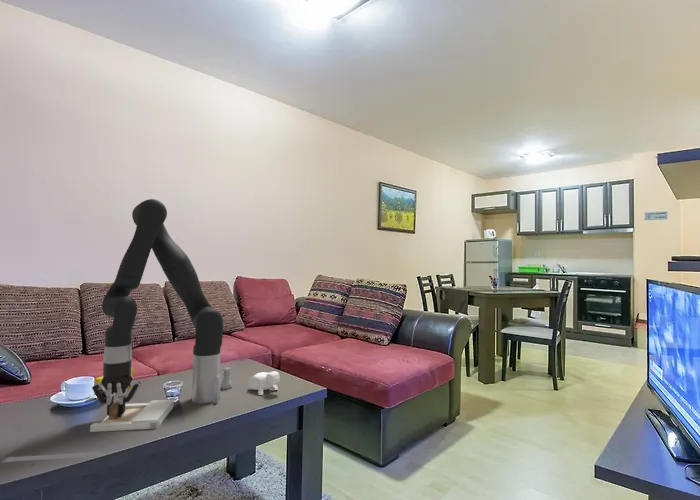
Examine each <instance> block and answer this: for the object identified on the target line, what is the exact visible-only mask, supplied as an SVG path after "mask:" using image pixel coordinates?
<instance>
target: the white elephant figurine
mask: <svg viewBox="0 0 700 500" xmlns="http://www.w3.org/2000/svg"><path fill="white" fill-rule="evenodd" d="M280 380H281V377H280V373H279V372H278V371H269V372H265V371H264V372H263V371H262V372H257V373H256V374H254V375H253V376H251V377H250V378H249V380H248V383H247V384H248V388H249V389H251V390H253V391H254V390H257V394H258V396H259V395H262V396H264V394H265V393H264V391H267V390H269V389H272V390H273V391H274V390H278V389H279V387H278V385H277V384H278V383H280V382H281V381H280ZM278 391H279V390H278Z"/></svg>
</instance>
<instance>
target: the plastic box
mask: <svg viewBox="0 0 700 500" xmlns="http://www.w3.org/2000/svg"><path fill="white" fill-rule="evenodd" d="M174 407H175V399H157V400H156V399H154V400H153V399H152V400H150V401H149V402H142V403H138V402H137V403H125V409H137V408H144V409H143V410H142V411H141V412H140V413H139V414H138V415H137V416H136V417H135V418H134V419H133V420H132V421H127V422H107V423H103V422H104V421H105V420H106V419H107V418H108V417H109V415H107V416H106V417H105V418H104V419H103V420H101V422H93V423H92V424H90V425H89V432H91V433H95V432H113V431H127V430H128V431H133V430H149V429H150V430H151V429H152V430H153V429H158V428H159V427H160V426H161V424H162V423H163V421H164V420H165V419H166V417H167V416H168V415H169V414H170V412H171V411H172V410H173V408H174Z"/></svg>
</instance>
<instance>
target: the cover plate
mask: <svg viewBox="0 0 700 500" xmlns="http://www.w3.org/2000/svg"><path fill="white" fill-rule="evenodd" d="M118 405H119V400H114V403H113V404H112V405H111V406H109V415H108V416H109V417H108V418H107V419H106V420H105V421H104V422H103V423H107V422H127V421H132V420H133V419H134V418H135V417H136V416H137V415H138V414H139V413H140V412H141V411H142V410H143V409H144V408H137V409H125V413H124V414H123V415H122V416H119V417H118Z"/></svg>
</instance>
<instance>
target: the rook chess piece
mask: <svg viewBox="0 0 700 500" xmlns="http://www.w3.org/2000/svg"><path fill="white" fill-rule="evenodd" d="M231 371H232V369H231V367H230V366H228V367H227V366H223V369H222V372H223V373H222V375H223V378H222V380H221V387H220V390H221V389H222V390H229V388H230V389H231V388H232V387H233V385H232V384H233V383H232V381H231Z"/></svg>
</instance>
